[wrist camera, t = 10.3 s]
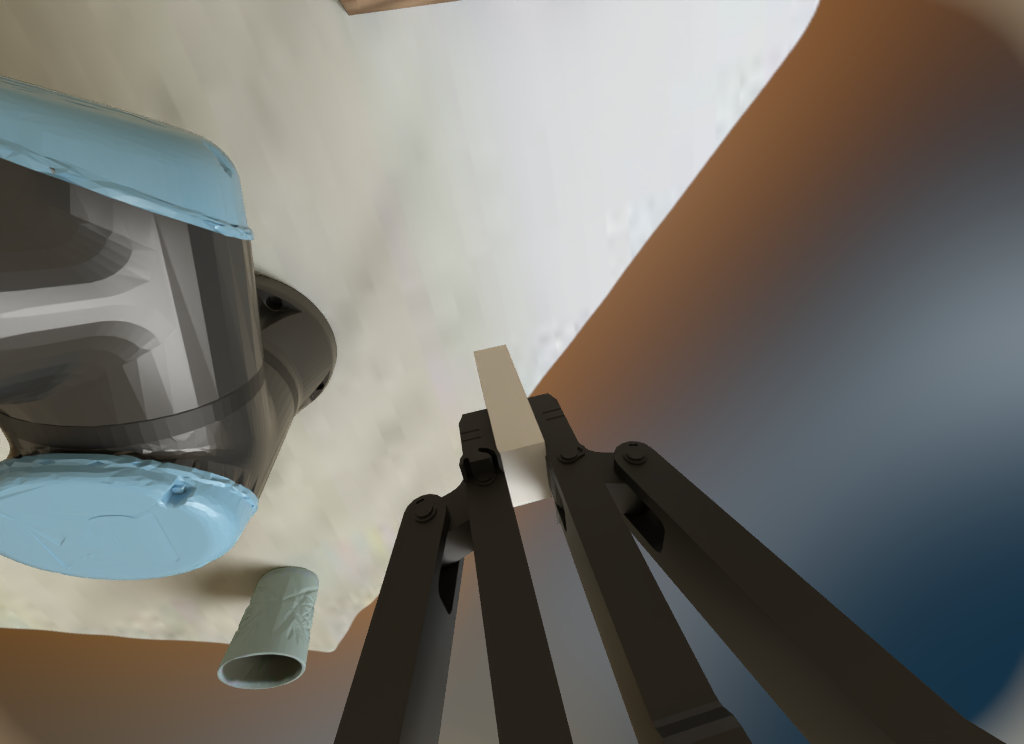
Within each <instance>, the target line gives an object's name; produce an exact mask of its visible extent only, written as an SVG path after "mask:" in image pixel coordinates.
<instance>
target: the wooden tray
mask: <svg viewBox="0 0 1024 744" xmlns="http://www.w3.org/2000/svg"><path fill="white" fill-rule="evenodd" d="M340 1H341V3H342V5H343V6H344V8H345V10H346V11H347V13H348V14H349V15H355V14H363V13H370V12H377V11H385V10H392V9H400V8H407V7H414V6H422V5H429V4H436V3H444V2H451V1H458V0H340Z"/></svg>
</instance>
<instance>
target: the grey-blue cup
mask: <svg viewBox="0 0 1024 744" xmlns="http://www.w3.org/2000/svg"><path fill="white" fill-rule="evenodd" d="M318 585H319V581H318V577H317V576H316V575H315V574H314V573H313V572H311V571H310V570H307V569H304V568H299V567H282V568H277V569H274V570H271V571H269V572H267V573H266V574H264V575H263V576H262V577H261V579H260V580H259V582H258V584H257V586H256V589H255V591H254V593H253V595H252V598H251V600H250V605H249V606H248V607H247V609H246V610H245V613H244V615H243V617H242V620H241V622H240V624H239V628H238V631H237V632H236V633H235V635H234V637H233V639H232V641H231V643H230V645H229V647H228V650H227V652H226V654H225V656H224V658H223V660H222V662H221V664H220V666H219V668H218V677H219V679H220V680H221V681H222V682H224V683H225V684H227V685H230V686H233V687H237V688H245V689H263V688H271V687H277V686H280V685H284V684H287V683H289V682H292V681H294V680H295V679H297V678H298V677H300V676H301V674H303V672H304V670H305V666H306V659H307V652H308V646H309V640H310V628H311V626H312V620H313V614H314V605H315V601H316V597H317V591H318Z"/></svg>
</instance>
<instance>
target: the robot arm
mask: <svg viewBox="0 0 1024 744" xmlns="http://www.w3.org/2000/svg"><path fill="white" fill-rule="evenodd" d="M251 240H254V236H253V232H252V230H251V229H250V228H249V227H248V225H247V219H246V213H245V208H244V202H243V196H242V190H241V185H240V179H239V175H238V172H237V170H236V168H235V166H234V164H233V163H232V161H231V160H230V158H229V157H228V156H227V155H226V154H225V153H224V152H223V151H222V150H221V149H220V148H219V147H218V146H216V145H215V144H214V143H212V142H211V141H209V140H207V139H205V138H204V137H202V136H200V135H197V134H195V133H192V132H190V131H187V130H184V129H181V128H178V127H175V126H172V125H169V124H166V123H163V122H160V121H156V120H153V119H150V118H147V117H144V116H140V115H137V114H134V113H130V112H127V111H124V110H120V109H117V108H113V107H110V106H107V105H103V104H100V103H96V102H93V101H89V100H86V99H82V98H79V97H75V96H72V95H68V94H65V93H61V92H58V91H54V90H51V89H47V88H44V87H40V86H37V85H33V84H29V83H26V82H22V81H19V80H15V79H11V78H8V77H4V76H1V75H0V428H1V430H2V431H3V433H4V435H5V437H6V439H7V440H8V442H9V445H10V453H9V455H8V457H7V459H5V460H3V461H1V462H0V555H2V556H5V557H7V558H9V559H12V560H14V561H16V562H19V563H22V564H25V565H28V566H31V567H34V568H38V569H41V570H45V571H50V572H55V573H61V574H64V575H69V576H75V577H82V578H91V579H106V580H141V579H153V578H161V577H167V576H172V575H177V574H182V573H185V572H189V571H192V570H195V569H197V568H200V567H202V566H204V565H206V564H207V563H209V562H210V561H213V560H215V559H217V558H219V557H221V556H222V555H224V554H225V553H226V552H228V551H229V550H230V549H231V548H232V547H233V546H234V544H235V543H236V542H237V540H238V539H239V537H240V536H241V534H242V532H243V530H244V528H245V527H246V525H247V523H248V521H249V519H250V518H251V516H253V515H254V513H255V512H256V511H257V509H258V502H259V498H260V495H261V493H262V491H263V488H264V486H265V484H266V481H267V479H268V477H269V474H270V472H271V470H272V467H273V465H274V463H275V460H276V458H277V455H278V453H279V451H280V448H281V446H282V444H283V441H284V439H285V437H286V434H287V432H288V430H289V427H290V425H291V422H292V420H293V418H294V416H295V415H296V414H297V413H299V412H300V411H301V410H302V409H304V408H305V407H306V406H307V405H309V404H310V403H311V402H312V401H313V400H315V399H316V398H317V397H318V396H319V395H320V394H321V393H322V392H323V390H324V389H325V387H326V386H327V384H328V383H329V380H330V378H331V375H332V373H333V370H334V367H335V364H336V358H337V346H336V341H335V337H334V334H333V331H332V329H331V327H330V325H329V323H328V322H327V320H326V318H325V317H324V316H323V314H322V313H321V312H320V311H319V309H318V308H317V307H316V306H315V305H314V304H313V303H312V302H311V301H309V300H308V299H307V298H306V297H304V296H303V295H302V294H300V293H299V292H297V291H296V290H294V289H292V288H291V287H289V286H287V285H285V284H283V283H280V282H278V281H275V280H273V279H270V278H267V277H263V276H259V275H255V274H254V266H253V257H252V248H251ZM474 356H475V360H476V365H477V369H478V374H479V378H480V382H481V387H482V391H483V395H484V400H485V404H486V408H487V409H484V410H479V411H475V412H471V413H467V414H463V415H462V418H461V420H460V422H459V429H460V436H461V444H462V451H463V455H462V457H461V458H460V464H459V466H460V469H461V472H462V476H463V481H462V482H461V484H460V485H459V486H458V487H457V488H456V489H455V490H453V491H452V492H451V493H449V494H447V495H445V496H443V497H442V498H441V497H440V496H438V495H434V494H427V495H423V496H420V497H418V498H417V499H415V500H413V501H412V502H411V503H410V504H409V505H408V507H407V509H406V511H405V512H404V515H403V518H402V522H401V525H400V528H399V531H398V535H397V538H396V541H395V545H394V548H393V551H392V554H391V558H390V561H389V564H388V567H387V571H386V574H385V577H384V581H383V584H382V587H381V590H380V594H379V597H378V600H377V604H376V607H375V610H374V613H373V617H372V620H371V623H370V626H369V630H368V633H367V636H366V639H365V643H364V646H363V649H362V653H361V656H360V659H359V663H358V666H357V669H356V672H355V676H354V679H353V682H352V685H351V688H350V692H349V695H348V698H347V702H346V705H345V708H344V712H343V715H342V718H341V722H340V724H339V728H338V731H337V734H336V737H335V741H334V744H438V741H439V734H440V727H441V719H442V713H443V705H444V698H445V691H446V684H447V677H448V670H449V663H450V656H451V649H452V641H453V635H454V627H455V620H456V613H457V605H458V599H459V592H460V584H461V578H462V570H463V563H464V557H465V556H466V555H467V554H469V553H471V552H472V551H474V556H475V563H476V571H477V579H478V586H479V594H480V601H481V608H482V616H483V624H484V630H485V638H486V646H487V654H488V661H489V669H490V676H491V684H492V691H493V699H494V707H495V714H496V722H497V729H498V737H499V744H573V742H572V737H571V734H570V729H569V726H568V722H567V718H566V714H565V710H564V706H563V702H562V698H561V694H560V690H559V686H558V682H557V678H556V674H555V670H554V666H553V662H552V659H551V654H550V650H549V646H548V643H547V638H546V635H545V631H544V627H543V623H542V619H541V615H540V611H539V607H538V603H537V599H536V595H535V591H534V587H533V583H532V579H531V575H530V571H529V567H528V563H527V559H526V555H525V552H524V548H523V544H522V540H521V536H520V532H519V528H518V524H517V520H516V516H515V512H514V508H513V507H516V506H519V505H523V504H527V503H530V502H534V501H538V500H542V499H546V498H549V497H552V496H551V492H552V495H553V497H554V500H555V508H556V517H557V524H558V523H560V524H561V526H562V529H563V532H564V535H565V538H566V541H567V543H568V546H569V549H570V552H571V555H572V557H573V560H574V563H575V566H576V568H577V572H578V574H579V577H580V580H581V583H582V585H583V588H584V591H585V594H586V597H587V599H588V602H589V605H590V608H591V611H592V613H593V616H594V619H595V622H596V625H597V627H598V631H599V633H600V636H601V639H602V642H603V645H604V647H605V650H606V653H607V656H608V659H609V662H610V664H611V667H612V670H613V673H614V675H615V678H616V681H617V684H618V687H619V690H620V692H621V695H622V698H623V701H624V704H625V706H626V709H627V712H628V715H629V718H630V721H631V724H632V726H633V729H634V732H635V735H636V737H637V740H638V743H639V744H752V743H751V741H750V739H749V738H748V736H747V735H746V733H745V731H744V729H743V728H742V726H741V725H740V723H739V722H738V721H737V719H736V718H735V717H734V715H733V714H732V713H730V712H729V711H728V710H727V709H726V708H724V707H723V706H722V704H721V703H720V702H719V701H718V699H717V697H716V695H715V694H714V692H713V690H712V688H711V686H710V684H709V682H708V680H707V678H706V676H705V675H704V673H703V671H702V669H701V667H700V665H699V663H698V661H697V659H696V657H695V655H694V653H693V652H692V650H691V648H690V646H689V644H688V642H687V640H686V638H685V636H684V634H683V632H682V631H681V629H680V627H679V625H678V623H677V621H676V619H675V617H674V615H673V614H672V611H671V609H670V607H669V605H668V604H667V602H666V600H665V598H664V596H663V594H662V592H661V590H660V588H659V586H658V584H657V582H656V580H655V579H654V577H653V575H652V573H651V571H650V569H649V567H648V565H647V563H646V561H645V559H644V558H643V556H642V554H641V552H640V550H639V548H638V546H637V544H636V542H635V540H634V538H633V536H632V534H633V535H634V536H635V538H636V539H637V540H638V541H639V542H640V543H641V545H642V546H643V547H644V548H645V549H646V551H647V552H648V553H649V554H650V555H651V556H652V558H653V559H654V560H655V561H656V562H657V563H658V565H659V566H660V567H661V568H662V569H663V571H664V572H665V573H666V574H667V575H668V576H669V578H670V579H671V580H672V581H673V582H674V584H675V585H676V586H677V587H678V588H679V589H680V591H681V592H682V593H683V594H684V595H685V596H686V598H687V599H688V600H689V601H690V602H691V604H692V605H693V606H694V607H695V608H696V609H697V611H698V612H699V613H700V614H701V615H702V617H703V618H704V619H705V620H706V621H707V622H708V623H709V625H710V626H711V627H712V628H713V629H714V631H715V632H716V633H717V634H718V635H719V637H720V638H721V639H722V640H723V641H724V642H725V644H726V645H727V646H728V647H729V648H730V649H731V651H732V652H733V653H734V654H735V655H736V657H737V658H738V659H739V660H740V661H741V662H742V664H743V665H744V666H745V667H746V668H747V669H748V671H749V672H750V673H751V674H752V675H753V677H754V678H755V679H756V680H757V681H758V682H759V684H760V685H761V686H762V687H763V688H764V690H765V691H766V692H767V693H768V694H769V695H770V697H771V698H772V699H773V700H774V701H775V702H776V704H777V705H778V706H779V707H780V708H781V709H782V711H783V712H784V713H785V714H786V715H787V717H788V718H789V719H790V720H791V721H792V722H793V724H794V725H795V726H796V727H797V728H798V730H799V731H800V732H801V733H802V734H803V735H804V736H805V738H806V739H807V740H808V741H809V743H810V744H1006V743H1004V742H1002V741H1001V740H999V739H997V738H996V737H994V736H992V735H991V734H989V733H988V732H986V731H984V730H983V729H981V728H979V727H977V726H976V725H974V724H973V723H971V722H969V721H968V720H966V719H965V718H963V717H962V716H961V715H960V714H959V713H958V712H957V711H955V710H954V709H953V708H952V707H951V706H950V705H948V704H947V703H946V702H945V701H944V700H943V699H941V698H940V697H939V696H938V695H937V694H936V693H935V692H933V691H932V690H931V689H930V688H929V687H928V686H926V685H925V684H924V683H923V682H922V681H921V680H920V679H918V678H917V677H916V676H915V675H914V674H913V673H911V672H910V671H909V670H908V669H907V668H906V667H904V666H903V665H902V664H901V663H900V662H899V661H898V660H896V659H895V658H894V657H893V656H892V655H891V654H889V653H888V652H887V651H886V650H885V649H884V648H882V647H881V646H880V645H879V644H878V643H877V642H875V641H874V640H873V639H872V638H871V637H870V636H869V635H867V634H866V633H865V632H864V631H863V630H862V629H860V628H859V627H858V626H857V625H856V624H854V622H852V621H851V620H850V619H849V618H848V617H847V616H845V615H844V614H843V613H842V612H841V611H839V609H837V608H836V607H835V606H834V605H833V604H831V603H830V602H829V601H828V600H827V599H826V598H824V597H823V596H822V595H821V594H820V593H819V592H818V591H816V590H815V589H814V588H813V587H812V586H811V585H810V584H808V583H807V582H806V581H805V580H804V579H803V578H801V577H800V576H799V575H798V574H797V573H796V572H795V571H793V570H792V569H791V568H790V567H789V566H787V565H786V564H785V563H784V562H783V561H782V560H781V559H779V558H778V557H777V556H776V555H775V554H774V553H773V552H771V551H770V550H769V549H768V548H767V547H766V546H764V545H763V544H762V543H761V542H760V541H759V540H758V539H756V538H755V537H754V536H753V535H752V534H751V533H749V532H748V531H747V530H746V529H745V528H744V527H742V526H741V525H740V524H739V523H738V522H737V521H736V520H734V519H733V518H732V517H731V516H730V515H728V514H727V513H726V512H725V511H724V510H723V509H722V508H720V507H719V506H718V505H717V504H716V503H715V502H714V501H712V500H711V499H710V498H709V497H708V496H707V495H705V494H704V493H703V492H702V491H701V490H700V489H698V488H697V487H696V486H695V485H694V484H693V483H691V482H690V481H689V480H688V479H687V478H686V477H685V476H683V475H682V474H681V473H680V472H679V471H677V469H675V468H674V467H673V466H672V465H671V464H670V463H668V462H667V461H666V460H665V459H664V458H663V457H661V456H660V455H659V454H658V453H657V452H656V451H655V450H653V449H652V448H651V447H649V446H648V445H646V444H644V443H640V442H633V441H629V442H625V443H622V444H621V445H619V446H618V447H616V450H615V452H614V453H601V452H594V451H590V450H588V449H586V448H585V447H584V446H583V445H581V444H580V443H579V442H578V441H577V439H576V437H575V435H574V433H573V431H572V429H571V427H570V425H569V423H568V421H567V419H566V417H565V416H564V413H563V411H562V410H561V407H560V405H559V403H558V402H557V400H556V399H555V398H554V397H552V396H551V395H550V394H548V393H547V394H543V395H538V396H535V397H530V398H527V396H526V394H525V392H524V389H523V387H522V384H521V382H520V379H519V377H518V374H517V372H516V369H515V367H514V364H513V362H512V359H511V357H510V354H509V352H508V349H507V347H506V345H501V346H497V347H493V348H488V349H484V350H479V351H475V352H474ZM631 533H632V534H631Z"/></svg>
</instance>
